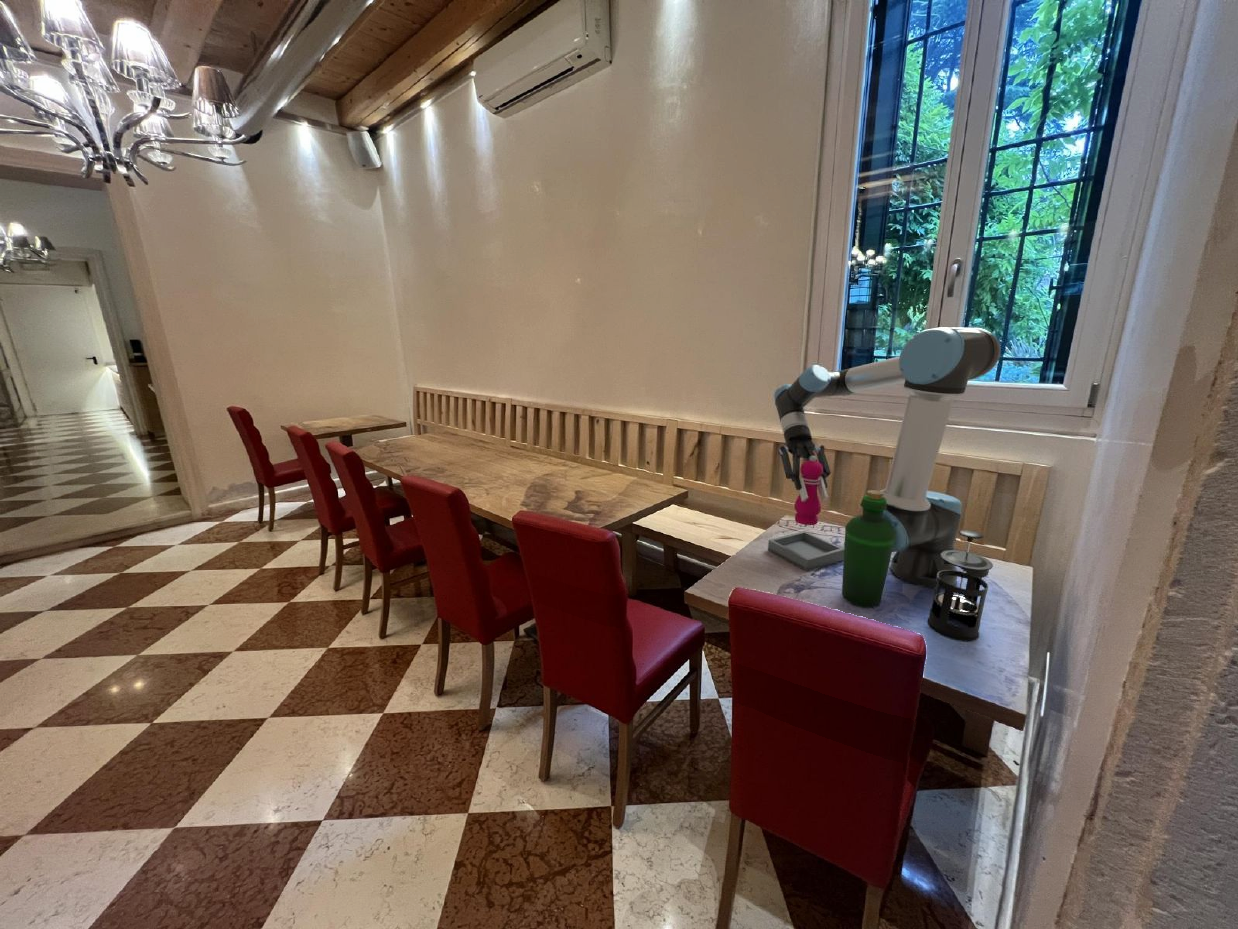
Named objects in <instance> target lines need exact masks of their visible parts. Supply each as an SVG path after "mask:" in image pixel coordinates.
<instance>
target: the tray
mask: <svg viewBox="0 0 1238 929" xmlns="http://www.w3.org/2000/svg"><path fill="white" fill-rule="evenodd" d="M767 551H768V552H770V553H771V554H773V555H775V556H777V557H779V558H780V559H782V560H784V561H786V562H788V563H790V564H791V565H794V566H795V567H797V568H799V569H801V570H803V571H805V572H810V571H812V570H817V569H820V568H823V567H826V565H827V566H829V565H834V564H837V563H839V562H838V561H840V562H844V547H841V546H840V545H837V544H835V543H833V542H830V541H828V540H825V539H823V538H821V537H819V536H817V535H814V534H813V533H810V532H809V531H806V530H803V531H800V532H799V531H798V532H795V533H792V534H787V535H784V536H779V537H776V538H772V539H768V546H767ZM836 562H837V563H836Z"/></svg>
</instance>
